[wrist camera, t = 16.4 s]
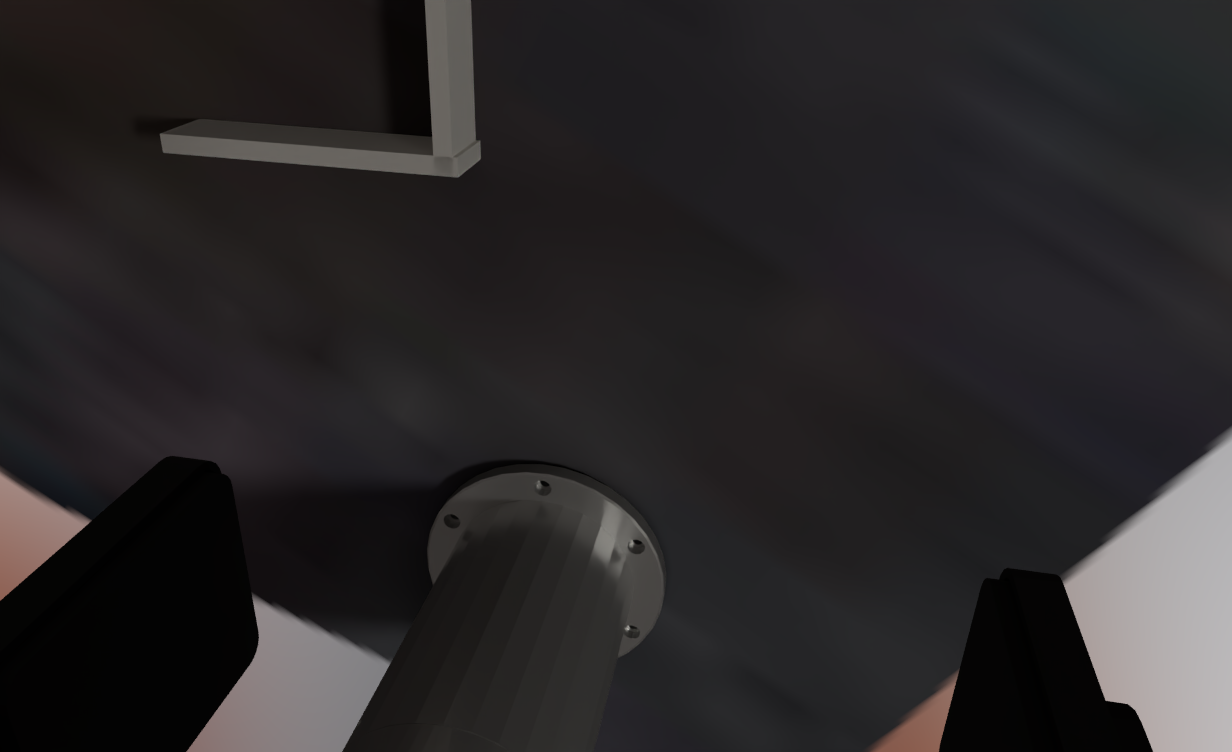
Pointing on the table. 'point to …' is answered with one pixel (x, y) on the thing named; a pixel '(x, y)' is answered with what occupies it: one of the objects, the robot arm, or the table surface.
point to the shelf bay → (359, 149)
